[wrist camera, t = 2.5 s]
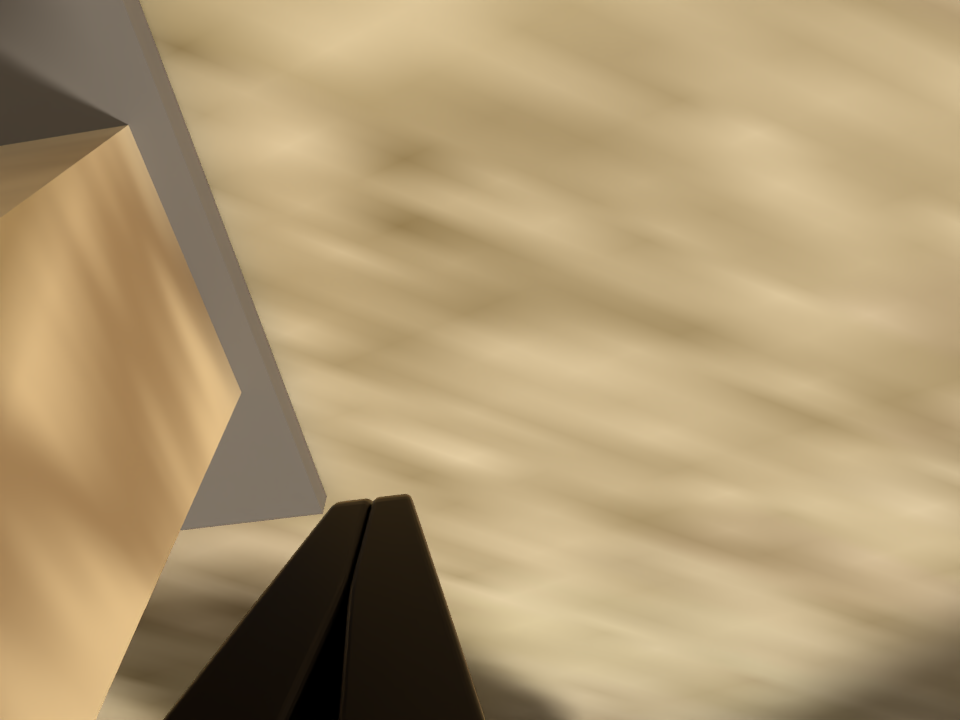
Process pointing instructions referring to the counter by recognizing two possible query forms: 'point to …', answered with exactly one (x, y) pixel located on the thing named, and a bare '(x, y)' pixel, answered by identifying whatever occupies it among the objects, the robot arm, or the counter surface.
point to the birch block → (92, 413)
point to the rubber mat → (192, 215)
